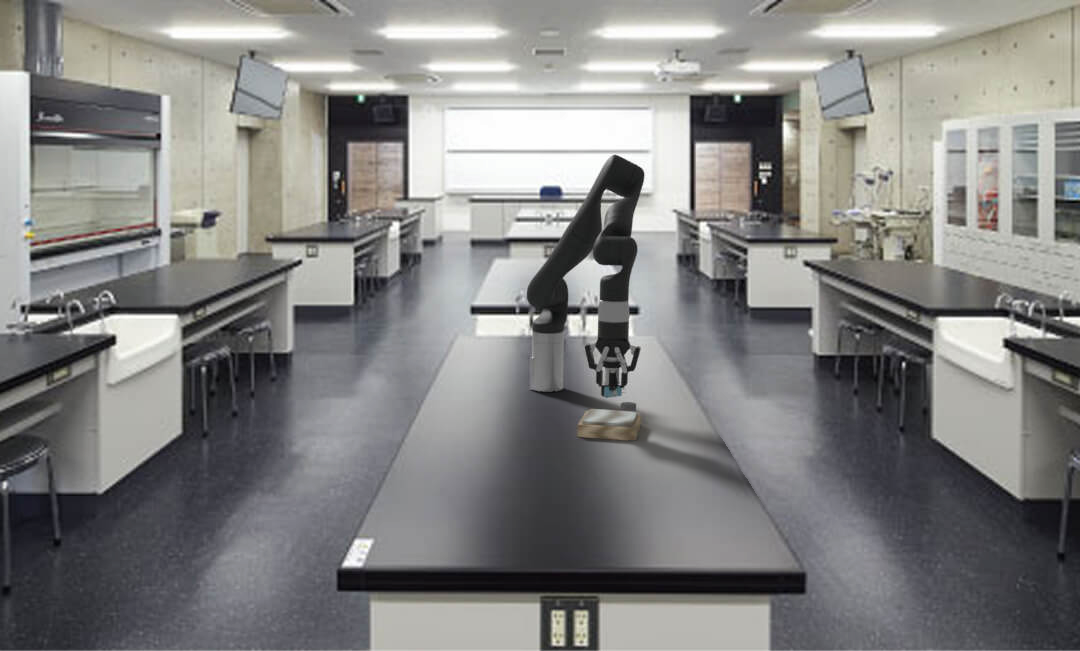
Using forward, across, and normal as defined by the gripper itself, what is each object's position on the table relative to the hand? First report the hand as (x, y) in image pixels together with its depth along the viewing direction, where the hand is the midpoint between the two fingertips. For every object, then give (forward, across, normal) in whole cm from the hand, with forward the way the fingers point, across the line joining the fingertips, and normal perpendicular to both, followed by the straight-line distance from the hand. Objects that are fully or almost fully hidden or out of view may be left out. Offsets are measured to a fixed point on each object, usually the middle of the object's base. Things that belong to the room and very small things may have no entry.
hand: (611, 386), depth 236 cm
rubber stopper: (+11, +3, +13) cm, 17 cm away
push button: (+3, +1, 0) cm, 3 cm away
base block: (+11, 0, 0) cm, 11 cm away
